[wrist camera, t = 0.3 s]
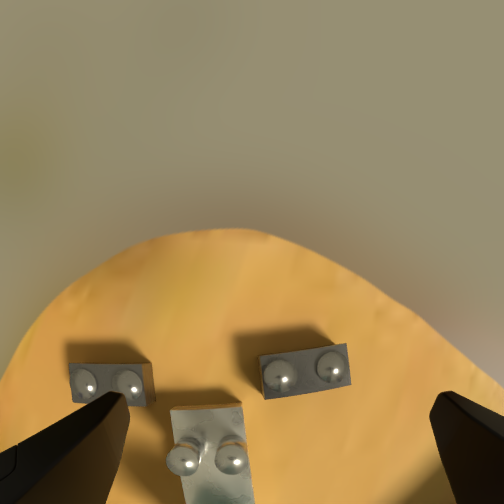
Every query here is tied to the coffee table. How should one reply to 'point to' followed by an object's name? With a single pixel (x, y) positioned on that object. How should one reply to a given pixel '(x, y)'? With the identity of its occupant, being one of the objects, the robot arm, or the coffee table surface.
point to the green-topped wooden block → (211, 454)
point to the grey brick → (270, 366)
